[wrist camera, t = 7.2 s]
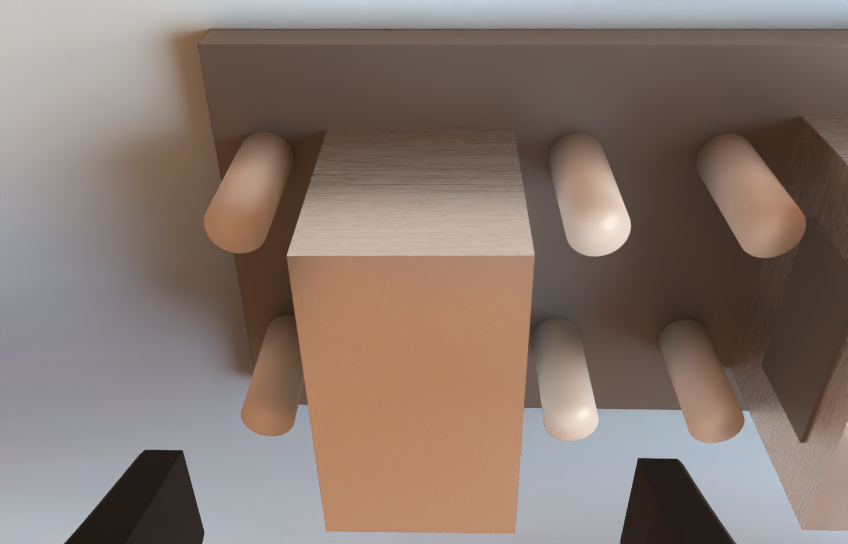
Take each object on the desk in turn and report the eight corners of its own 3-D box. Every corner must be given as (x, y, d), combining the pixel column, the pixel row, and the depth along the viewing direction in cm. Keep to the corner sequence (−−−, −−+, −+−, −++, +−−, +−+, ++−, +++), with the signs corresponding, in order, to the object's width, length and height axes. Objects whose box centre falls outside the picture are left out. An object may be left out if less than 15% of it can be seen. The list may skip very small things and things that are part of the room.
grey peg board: (942, 388, 22) (1031, 504, 18) (267, 379, 22) (235, 490, 19) (1121, 29, 16) (1297, 104, 13) (210, 29, 16) (150, 100, 13)
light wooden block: (501, 373, 20) (514, 532, 16) (348, 373, 21) (323, 531, 16) (513, 127, 16) (535, 255, 12) (324, 129, 17) (282, 255, 12)
